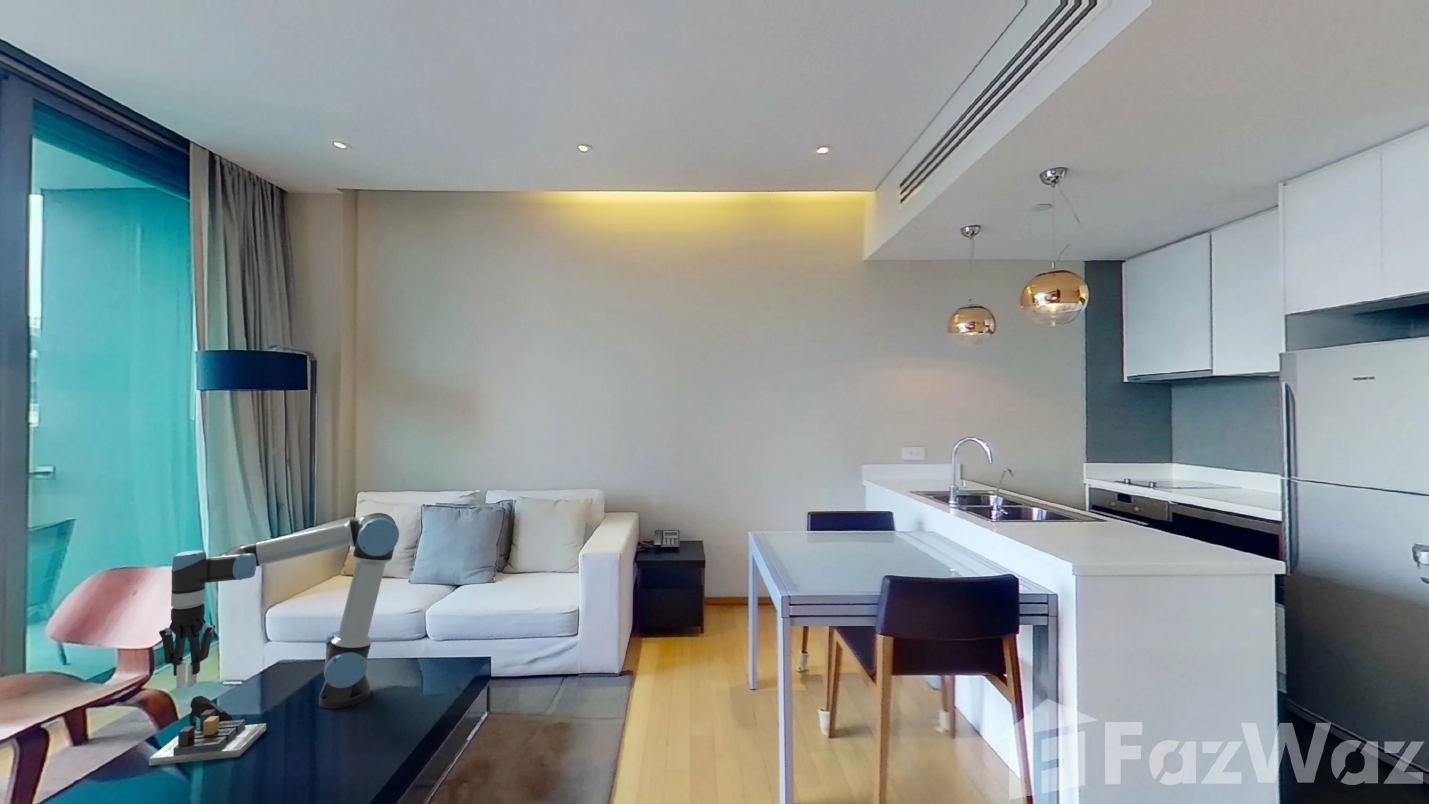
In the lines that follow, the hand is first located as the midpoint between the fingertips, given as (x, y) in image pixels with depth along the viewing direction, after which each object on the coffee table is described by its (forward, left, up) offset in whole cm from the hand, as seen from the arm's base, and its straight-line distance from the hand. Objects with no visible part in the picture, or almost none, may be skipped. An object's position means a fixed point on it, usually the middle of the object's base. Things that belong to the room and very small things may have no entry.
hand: (186, 685), depth 178 cm
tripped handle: (-7, 0, -14) cm, 16 cm away
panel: (-6, 0, -18) cm, 20 cm away
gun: (0, -12, -19) cm, 22 cm away
